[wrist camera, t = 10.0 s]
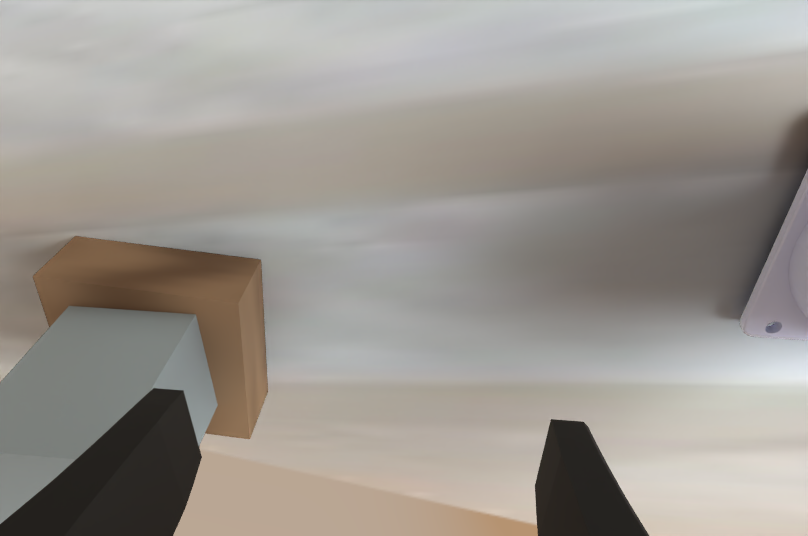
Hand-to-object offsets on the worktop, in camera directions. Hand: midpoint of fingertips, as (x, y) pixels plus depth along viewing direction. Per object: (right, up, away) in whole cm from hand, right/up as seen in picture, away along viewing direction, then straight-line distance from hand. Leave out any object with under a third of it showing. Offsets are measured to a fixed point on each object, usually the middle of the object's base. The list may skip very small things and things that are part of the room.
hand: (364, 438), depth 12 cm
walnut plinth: (-8, +2, +12) cm, 15 cm away
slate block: (-9, 0, +10) cm, 13 cm away
